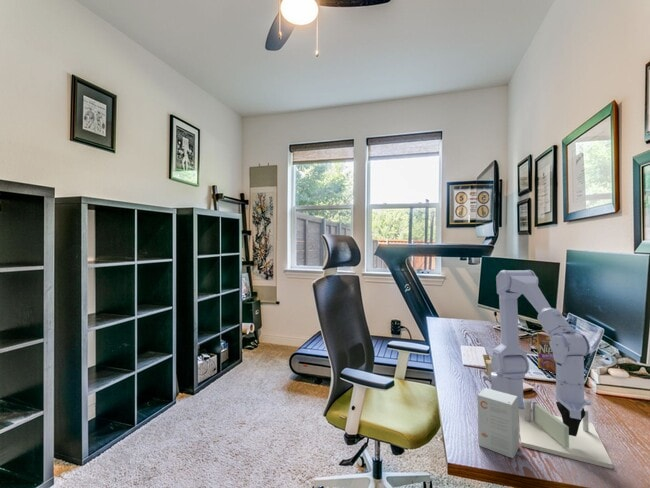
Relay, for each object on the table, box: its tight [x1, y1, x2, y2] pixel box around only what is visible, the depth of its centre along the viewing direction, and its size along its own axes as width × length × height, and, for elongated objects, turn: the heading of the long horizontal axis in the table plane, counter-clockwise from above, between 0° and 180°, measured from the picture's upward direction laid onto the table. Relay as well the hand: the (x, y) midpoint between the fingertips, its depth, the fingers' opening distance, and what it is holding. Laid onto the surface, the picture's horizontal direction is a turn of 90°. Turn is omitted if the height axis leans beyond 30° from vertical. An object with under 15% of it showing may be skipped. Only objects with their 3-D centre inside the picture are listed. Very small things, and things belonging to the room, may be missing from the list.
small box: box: [477, 387, 520, 459], centre depth 82 cm, size 8×6×13 cm
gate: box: [532, 401, 569, 448], centre depth 86 cm, size 13×1×5 cm, turn 178°
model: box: [482, 353, 495, 382], centre depth 128 cm, size 3×11×8 cm, turn 169°
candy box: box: [536, 331, 556, 373], centre depth 132 cm, size 9×4×15 cm, turn 17°
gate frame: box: [518, 399, 614, 470], centre depth 87 cm, size 18×20×6 cm
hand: (570, 434), depth 81 cm, fingers closed
